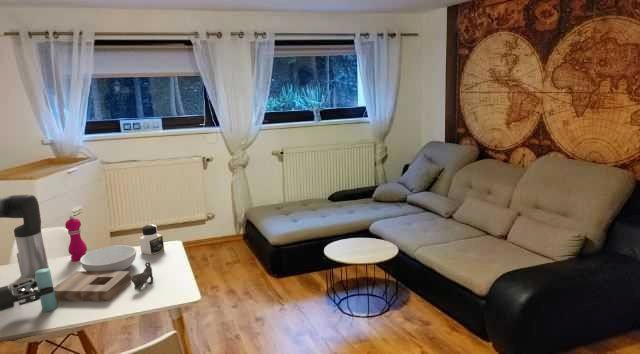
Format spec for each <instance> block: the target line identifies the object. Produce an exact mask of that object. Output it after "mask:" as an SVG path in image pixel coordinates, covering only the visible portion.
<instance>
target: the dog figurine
mask: <svg viewBox="0 0 640 354" xmlns="http://www.w3.org/2000/svg"><path fill="white" fill-rule="evenodd" d="M144 265H145V268H144V269H143V271H142V272H141V273H136V274H134V275H131V282H132V283H133V285H134V289H135V290H136V289H137V291H142V288H143V286H144V285H145V284H146V283H147V282H148V279H150V281H149V284H150V285H152V284H153V283H154V276H153V269H152V266H151V263H150V262H149V261H148V262H147V261H146V262H145V264H144Z"/></svg>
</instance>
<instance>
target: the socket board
mask: <svg viewBox="0 0 640 354" xmlns="http://www.w3.org/2000/svg"><path fill="white" fill-rule="evenodd" d="M131 276H132V274H131V271H127V270H125V271H124V270H122V271H86V270H84V271H80V270H79V271H75V272H73V273H72V274H71V275H69V276H68V277H66V279H64V280H62V281H61V282H60V283H58V284H57V285H55V286H53V287H54V292H55V296H56V301H57V302H101V303H102V302H111V300H112V299H114V297H116V296H117V295H118V294H119V293H120V292H121V291H122V290H124V289H125V287H127V286H128V285H129V284H130V283H131V282H132V280H131Z"/></svg>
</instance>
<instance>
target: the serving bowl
mask: <svg viewBox="0 0 640 354" xmlns="http://www.w3.org/2000/svg"><path fill="white" fill-rule="evenodd" d="M86 253H87V254H85V255H84V256H82V257H81V259H80V261H79V262H80V265H81V267H82V268H83V269H84V271H124V270H125V269H128V268H129V267H130V266H131V265H132V264H133V263H134V261H135V259H136V255H137V249H136V248H135V247H133V246H131V245H125V244H124V245H122V244H121V245H120V244H119V245H116V244H115V245H108V246H104V247H101V248H97V249H93V250H90V251H88V252H86Z"/></svg>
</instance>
